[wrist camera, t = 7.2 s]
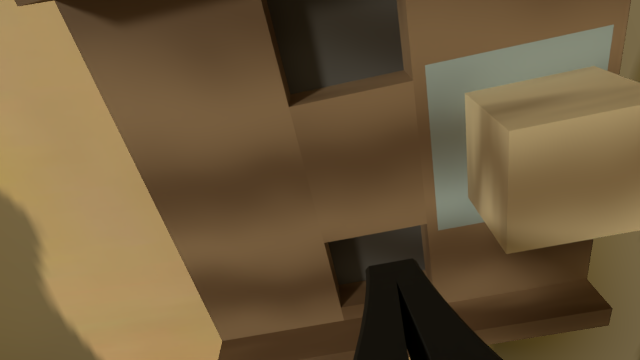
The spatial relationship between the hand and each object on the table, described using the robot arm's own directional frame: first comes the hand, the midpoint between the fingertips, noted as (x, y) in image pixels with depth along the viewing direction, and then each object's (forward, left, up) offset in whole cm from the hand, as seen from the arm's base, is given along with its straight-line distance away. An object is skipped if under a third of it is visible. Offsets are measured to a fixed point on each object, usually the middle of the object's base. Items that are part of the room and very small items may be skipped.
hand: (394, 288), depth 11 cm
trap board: (0, -1, -9) cm, 9 cm away
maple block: (0, -7, -7) cm, 10 cm away
